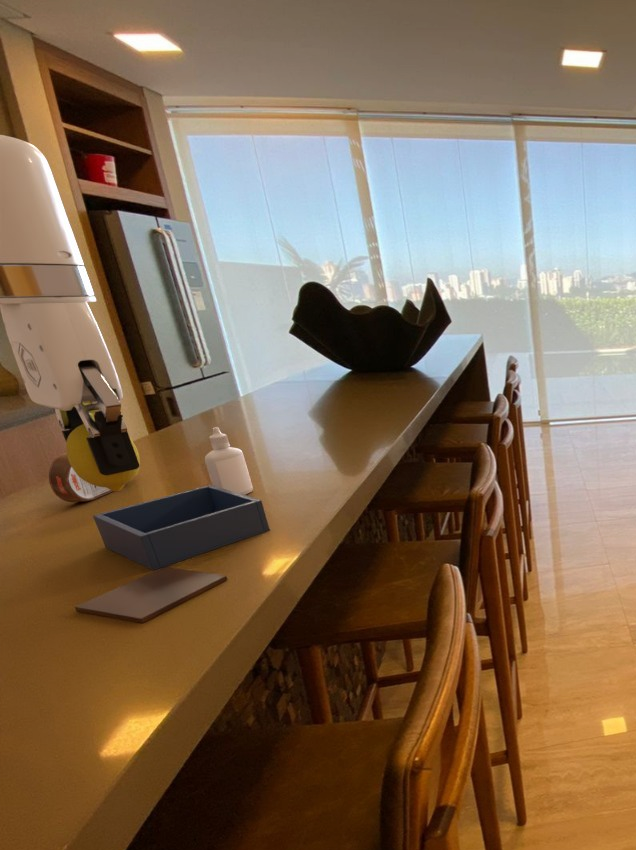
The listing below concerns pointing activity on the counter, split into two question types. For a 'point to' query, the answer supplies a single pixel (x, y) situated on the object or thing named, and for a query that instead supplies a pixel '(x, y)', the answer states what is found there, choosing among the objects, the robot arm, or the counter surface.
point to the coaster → (151, 594)
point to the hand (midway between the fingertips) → (107, 465)
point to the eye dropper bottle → (227, 465)
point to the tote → (181, 525)
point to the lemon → (86, 463)
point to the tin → (72, 483)
